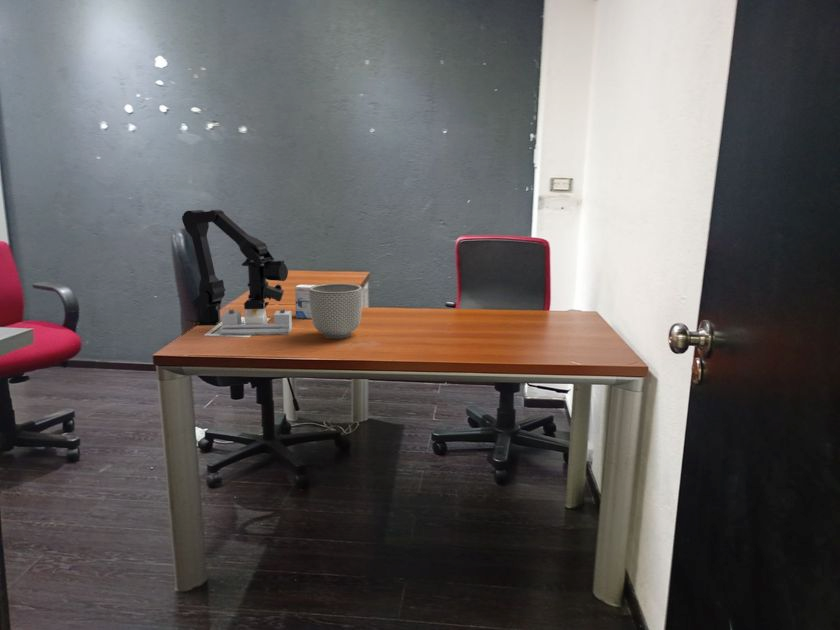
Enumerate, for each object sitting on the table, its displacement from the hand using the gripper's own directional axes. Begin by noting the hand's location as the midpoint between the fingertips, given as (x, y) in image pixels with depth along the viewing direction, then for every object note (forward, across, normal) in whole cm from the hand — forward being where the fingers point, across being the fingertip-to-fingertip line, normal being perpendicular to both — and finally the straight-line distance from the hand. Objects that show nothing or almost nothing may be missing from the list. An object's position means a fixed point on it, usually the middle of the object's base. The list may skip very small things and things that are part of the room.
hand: (259, 324), depth 212 cm
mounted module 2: (+1, -4, -8) cm, 9 cm away
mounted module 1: (+1, -4, +8) cm, 9 cm away
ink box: (+2, +16, -15) cm, 22 cm away
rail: (+1, -8, 0) cm, 8 cm away
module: (0, -3, 0) cm, 3 cm away
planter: (+1, -12, -27) cm, 30 cm away
